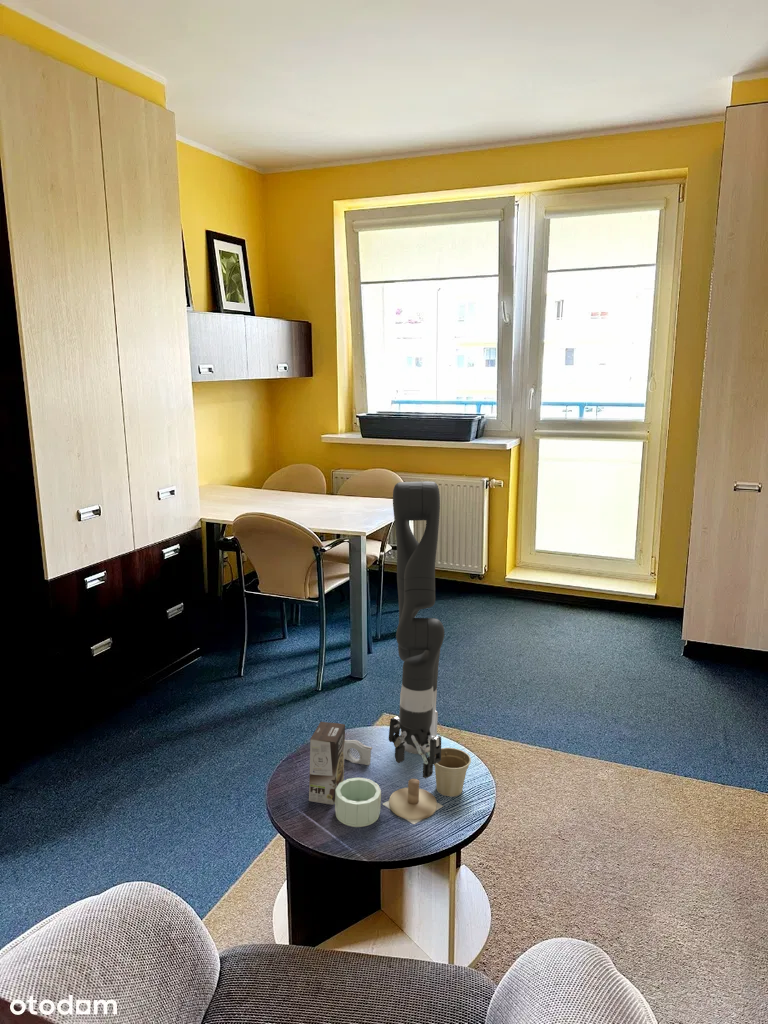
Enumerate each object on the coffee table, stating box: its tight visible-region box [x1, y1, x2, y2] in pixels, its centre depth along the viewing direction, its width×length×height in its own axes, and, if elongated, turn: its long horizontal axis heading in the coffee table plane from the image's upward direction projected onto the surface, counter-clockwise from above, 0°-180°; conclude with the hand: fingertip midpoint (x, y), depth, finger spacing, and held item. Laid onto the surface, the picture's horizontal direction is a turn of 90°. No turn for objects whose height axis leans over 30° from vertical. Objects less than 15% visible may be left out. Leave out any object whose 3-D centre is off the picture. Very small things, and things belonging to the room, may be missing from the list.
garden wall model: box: [344, 739, 373, 766], centre depth 180 cm, size 12×2×6 cm, turn 63°
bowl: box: [334, 777, 382, 828], centre depth 158 cm, size 10×10×6 cm
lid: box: [388, 778, 438, 821], centre depth 161 cm, size 11×11×6 cm
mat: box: [382, 800, 444, 825], centre depth 162 cm, size 10×10×1 cm
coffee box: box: [308, 721, 346, 806], centre depth 164 cm, size 9×6×16 cm
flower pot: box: [433, 747, 472, 798], centre depth 168 cm, size 9×9×9 cm
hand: (413, 769), depth 160 cm, fingers open, 8 cm apart
